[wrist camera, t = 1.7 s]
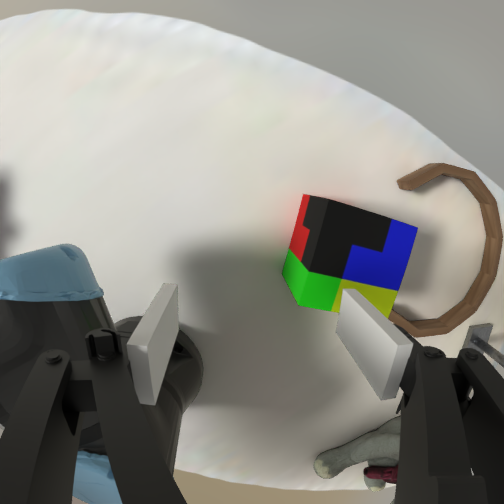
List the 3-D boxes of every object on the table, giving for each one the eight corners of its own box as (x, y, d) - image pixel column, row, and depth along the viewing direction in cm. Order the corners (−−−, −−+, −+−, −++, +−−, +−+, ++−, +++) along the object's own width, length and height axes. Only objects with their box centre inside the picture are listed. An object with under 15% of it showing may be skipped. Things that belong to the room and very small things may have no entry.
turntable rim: (472, 321, 42) (482, 328, 39) (374, 330, 40) (383, 340, 37) (496, 181, 36) (508, 182, 34) (397, 156, 35) (409, 155, 32)
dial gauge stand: (479, 351, 44) (531, 394, 28) (451, 357, 43) (505, 407, 27) (492, 310, 42) (552, 347, 26) (465, 313, 42) (529, 357, 26)
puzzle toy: (375, 215, 37) (417, 227, 27) (353, 289, 39) (387, 320, 29) (303, 194, 36) (328, 199, 26) (281, 273, 38) (298, 305, 28)
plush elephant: (361, 485, 51) (388, 552, 31) (305, 457, 46) (330, 548, 26) (456, 413, 48) (505, 471, 28) (424, 366, 43) (493, 441, 23)
